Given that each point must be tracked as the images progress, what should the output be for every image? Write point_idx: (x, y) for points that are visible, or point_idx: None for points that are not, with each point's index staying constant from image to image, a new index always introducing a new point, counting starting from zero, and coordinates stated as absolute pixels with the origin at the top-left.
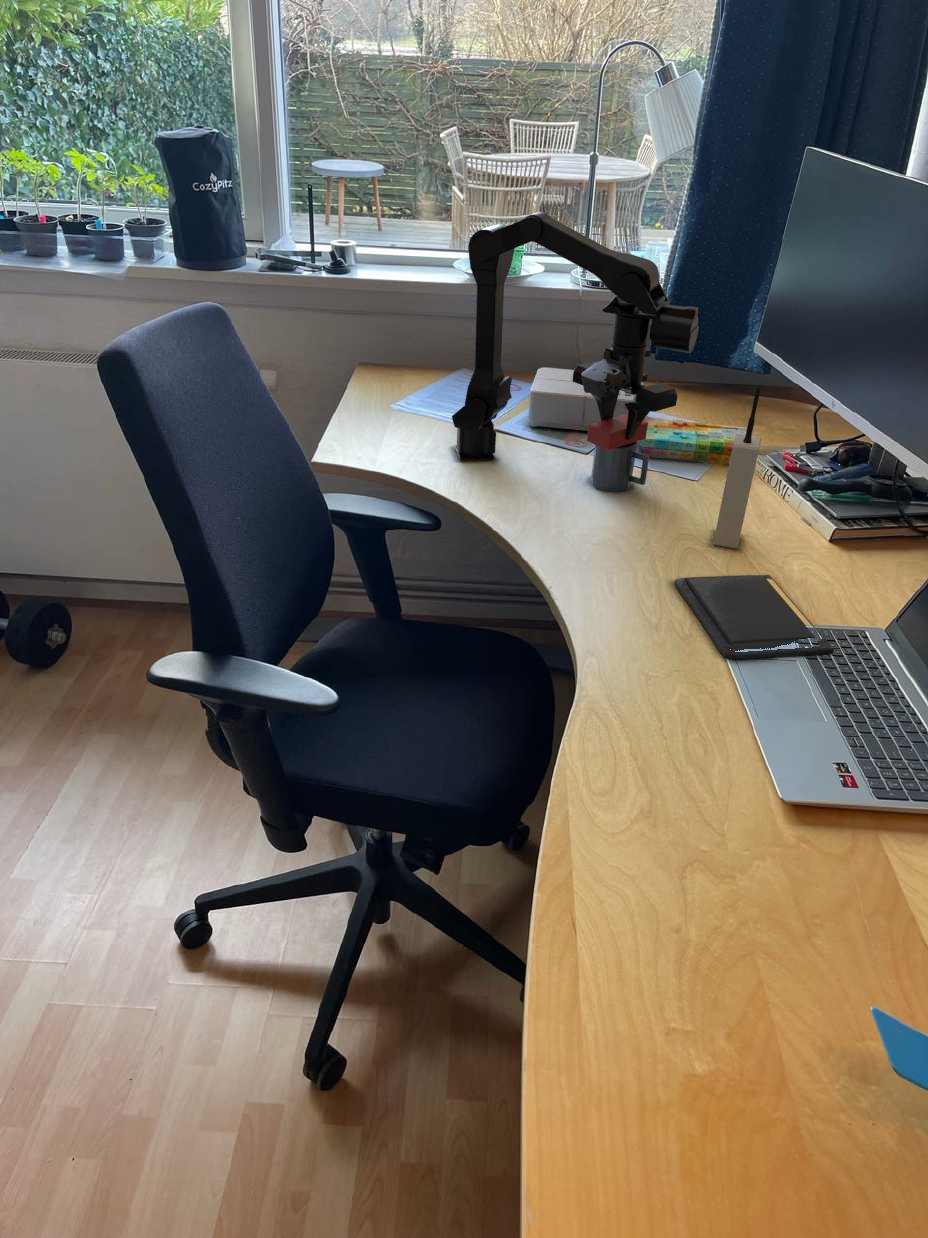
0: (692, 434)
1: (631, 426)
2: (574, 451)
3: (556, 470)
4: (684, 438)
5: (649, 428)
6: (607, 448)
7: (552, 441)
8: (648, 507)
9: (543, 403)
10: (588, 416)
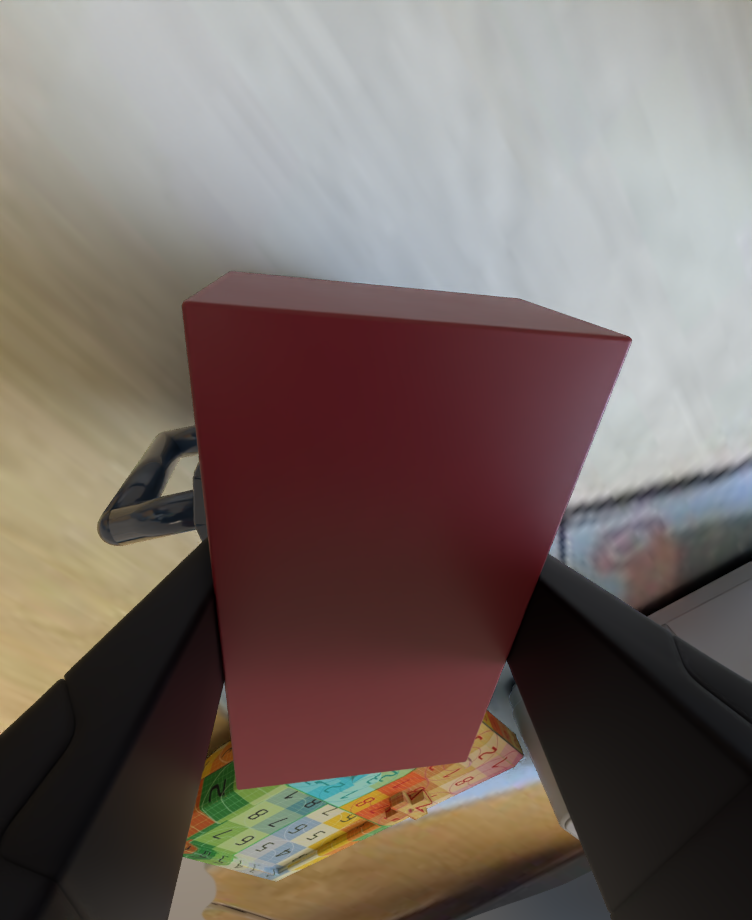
0: (326, 793)
1: (100, 643)
2: (608, 501)
3: (591, 307)
4: None
5: None
6: (236, 274)
7: (706, 502)
8: (15, 319)
9: None
10: None
